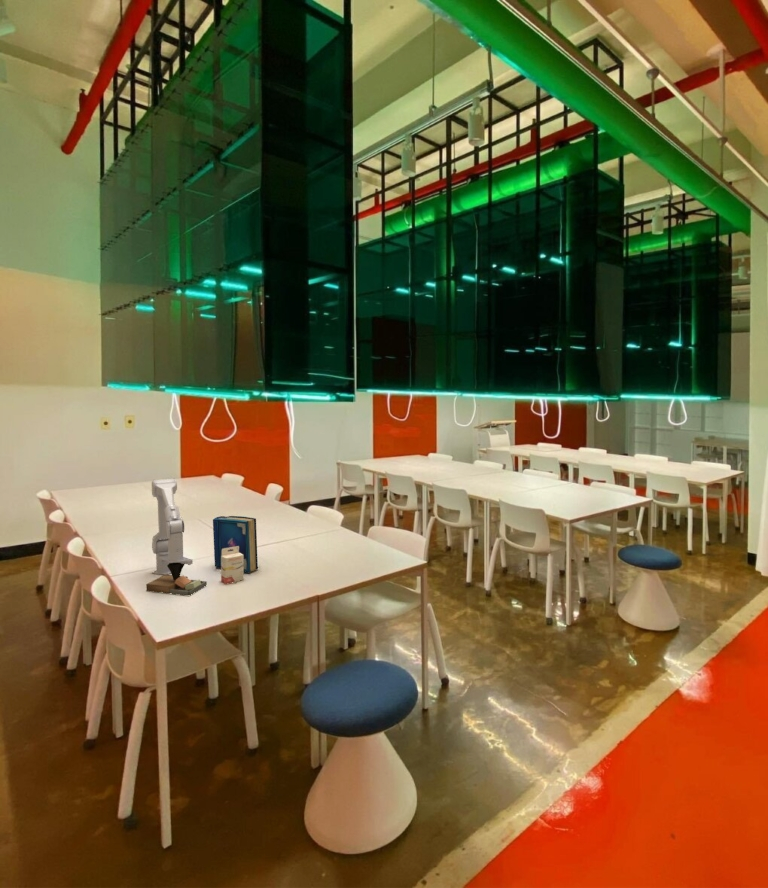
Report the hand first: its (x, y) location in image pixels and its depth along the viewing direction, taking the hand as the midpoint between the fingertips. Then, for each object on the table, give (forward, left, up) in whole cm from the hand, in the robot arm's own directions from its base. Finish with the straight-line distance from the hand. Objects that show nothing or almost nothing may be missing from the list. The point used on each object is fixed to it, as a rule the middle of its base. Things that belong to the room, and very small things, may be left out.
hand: (176, 579), depth 207 cm
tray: (0, +6, -4) cm, 7 cm away
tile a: (0, +3, -2) cm, 3 cm away
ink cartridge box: (-14, +18, -4) cm, 23 cm away
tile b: (0, +7, -1) cm, 7 cm away
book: (-28, +11, -4) cm, 30 cm away
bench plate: (0, -5, -4) cm, 6 cm away
